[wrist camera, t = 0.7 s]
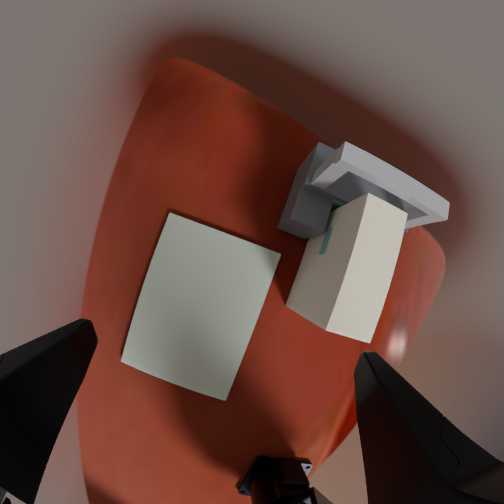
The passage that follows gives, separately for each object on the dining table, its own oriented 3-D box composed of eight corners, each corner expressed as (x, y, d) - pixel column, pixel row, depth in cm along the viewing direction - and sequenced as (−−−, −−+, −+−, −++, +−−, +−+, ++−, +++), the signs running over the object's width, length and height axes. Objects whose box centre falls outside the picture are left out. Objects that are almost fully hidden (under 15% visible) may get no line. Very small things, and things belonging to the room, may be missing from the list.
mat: (225, 398, 23) (225, 401, 22) (123, 359, 22) (120, 361, 22) (279, 254, 24) (281, 254, 23) (171, 213, 23) (169, 212, 23)
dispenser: (364, 263, 25) (445, 260, 14) (276, 228, 24) (319, 197, 13) (379, 206, 25) (457, 176, 14) (297, 168, 25) (345, 107, 14)
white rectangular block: (316, 316, 24) (370, 343, 14) (284, 305, 24) (324, 330, 14) (344, 232, 25) (408, 213, 15) (314, 219, 25) (367, 192, 15)
